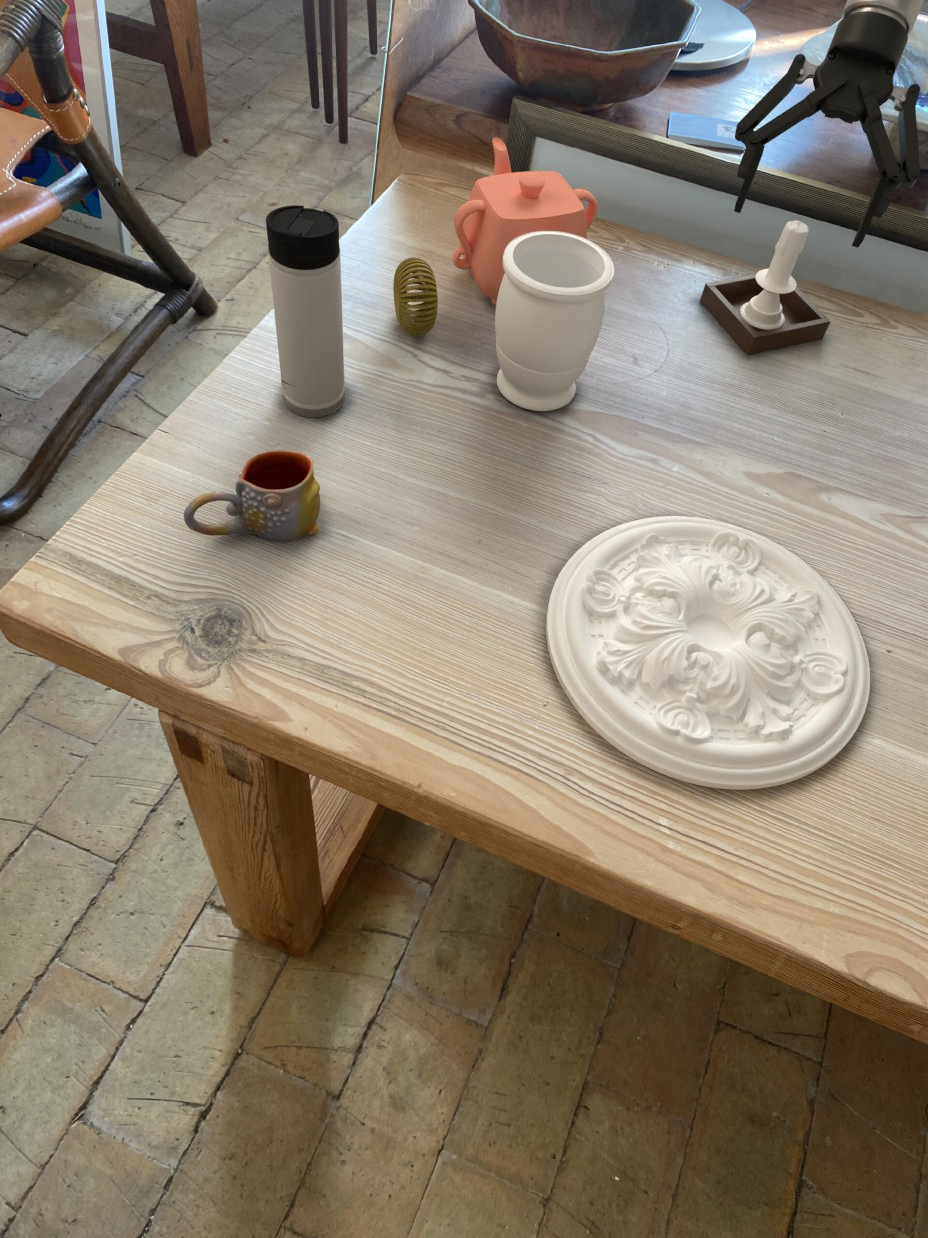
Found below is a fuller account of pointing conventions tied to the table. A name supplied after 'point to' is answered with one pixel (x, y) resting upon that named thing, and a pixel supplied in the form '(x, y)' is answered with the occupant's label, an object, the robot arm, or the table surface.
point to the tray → (797, 329)
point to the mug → (267, 499)
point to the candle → (776, 279)
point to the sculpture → (415, 296)
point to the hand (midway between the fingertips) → (796, 225)
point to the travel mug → (307, 307)
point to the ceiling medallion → (707, 652)
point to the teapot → (514, 216)
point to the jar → (548, 316)
